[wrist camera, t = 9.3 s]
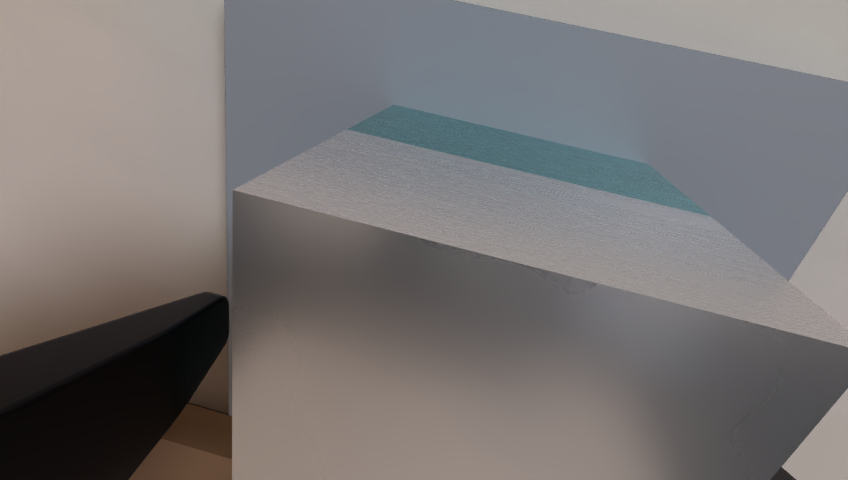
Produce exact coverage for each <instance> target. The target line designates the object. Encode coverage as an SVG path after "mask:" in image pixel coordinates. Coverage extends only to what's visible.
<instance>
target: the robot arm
mask: <svg viewBox="0 0 848 480" xmlns="http://www.w3.org/2000/svg"><path fill="white" fill-rule="evenodd" d="M228 337H229V301H228V299H227V298H226V297H225V296H221V295H218V294H214V293H210V292H203V293H200V294H196V295H193V296H190V297H187V298H184V299H180V300H177V301H174V302H171V303H168V304H164V305H161V306H158V307H155V308H152V309H148V310H145V311H142V312H139V313H136V314H132V315H129V316H126V317H123V318H120V319H116V320H113V321H110V322H107V323H104V324H100V325H97V326H94V327H91V328H87V329H84V330H81V331H78V332H75V333H71V334H68V335H65V336H62V337H59V338H55V339H52V340H49V341H46V342H43V343H39V344H36V345H33V346H30V347H27V348H23V349H20V350H17V351H14V352H11V353H7V354H4V355H1V356H0V480H129V479H130V477H131V476H132V475H133V473H134V472H135V471H136V470H137V468H138V467H139V466H140V465H141V463H142V462H143V461H144V460H145V458H146V457H147V456H148V455H149V453H150V452H151V451H152V450H153V448H154V447H155V446H156V444H157V443H158V442H159V441H160V439H161V438H162V437H163V436H164V434H165V433H166V432H167V431H168V429H169V428H170V427H171V426H172V424H173V423H174V422H175V420H176V419H177V418H178V416H179V415H180V414H181V412H182V411H183V409H184V408H185V406H186V405H187V403H188V402H189V400H190V399H191V397H192V396H193V394H194V392H195V391H196V389H197V388H198V386H199V385H200V383H201V382H202V380H203V378H204V377H205V375H206V374H207V372H208V371H209V369H210V368H211V366H212V364H213V363H214V361H215V360H216V358H217V357H218V355H219V353H220V352H221V350H222V349H223V347H224V346H225V344H226V342H227V340H228ZM771 480H796V479H795V478H794V477H792V476H791V475H790V474H789V473H788V472H787V471H785V470H784V469H783V468H782V467H781V468H780V469H779V470H778V471H777V472H776V474H775V475H774V476H773V477H772V478H771Z"/></svg>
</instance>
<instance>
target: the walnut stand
mask: <svg viewBox="0 0 848 480" xmlns="http://www.w3.org/2000/svg"><path fill="white" fill-rule="evenodd" d="M129 480H232V416H230V415H226V414H223V413H219V412H216V411H212V410H209V409H205V408H202V407H199V406H195V405H192V404H188V403H187V405H186V406H185V408H184V409H183V411H182V412H181V414H180V415H179V416H178V418H177V419H176V420H175V422H174V423H173V424H172V426H171V427H170V428H169V429H168V431H167V432H166V433H165V434H164V436H163V437H162V438H161V439H160V441H159V442H158V443H157V444H156V446H155V447H154V448H153V450H152V451H151V452H150V453H149V455H148V456H147V457H146V458H145V460H144V461H143V462H142V463H141V465H140V466H139V467H138V468H137V470H136V471H135V472H134V473H133V475H132V476H131V477H130V479H129Z"/></svg>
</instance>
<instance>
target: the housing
mask: <svg viewBox="0 0 848 480" xmlns="http://www.w3.org/2000/svg"><path fill="white" fill-rule="evenodd" d="M847 388H848V330H846V329H845V328H844V327H843V326H842V325H840V324H839V323H838V322H837V321H836V320H834V319H833V318H832V317H831V316H830V315H828V314H827V313H826V312H825V311H824V310H822V309H821V308H820V307H819V306H818V305H816V304H815V303H814V302H813V301H812V300H810V299H809V298H808V297H807V296H806V295H804V294H803V293H802V292H801V291H800V290H798V289H797V288H796V287H795V286H794V285H792V284H791V283H790V282H789V281H788V280H786V279H785V278H784V277H783V276H782V275H780V274H779V273H778V272H777V271H776V270H774V269H773V268H772V267H771V266H770V265H769V264H767V263H766V262H765V261H764V260H763V259H761V258H760V257H759V256H758V255H757V254H755V253H754V252H753V251H752V250H751V249H749V248H748V247H747V246H746V245H745V244H743V243H742V242H741V241H740V240H739V239H737V238H736V237H735V236H734V235H733V234H731V233H730V232H729V231H728V230H727V229H725V228H724V227H723V226H722V225H721V224H719V223H718V222H717V221H716V220H715V219H713V218H712V217H711V216H710V215H709V214H707V213H706V212H705V211H704V210H703V209H701V208H700V207H699V206H698V205H697V204H695V203H694V202H693V201H692V200H691V199H689V198H688V197H687V196H686V195H685V194H683V193H682V192H681V191H680V190H679V189H677V188H676V187H675V186H674V185H673V184H671V183H670V182H669V181H668V180H667V179H665V178H664V177H663V176H662V175H661V174H660V173H658V172H657V171H656V170H655V169H654V168H652V167H651V166H650V165H649V164H646V163H642V162H638V161H633V160H629V159H625V158H620V157H616V156H612V155H608V154H603V153H599V152H595V151H591V150H586V149H582V148H578V147H573V146H569V145H565V144H561V143H556V142H552V141H548V140H544V139H539V138H535V137H531V136H526V135H522V134H518V133H514V132H509V131H505V130H501V129H496V128H492V127H488V126H484V125H479V124H475V123H471V122H467V121H462V120H458V119H454V118H449V117H445V116H441V115H437V114H432V113H428V112H424V111H419V110H415V109H411V108H407V107H402V106H398V105H394V104H393V105H392V106H390V107H388V108H386V109H384V110H382V111H380V112H378V113H377V114H375V115H373V116H371V117H369V118H367V119H365V120H363V121H362V122H360V123H358V124H356V125H354V126H352V127H350V128H348V129H346V130H345V131H343V132H341V133H339V134H337V135H335V136H333V137H331V138H330V139H328V140H326V141H324V142H322V143H320V144H318V145H316V146H314V147H313V148H311V149H309V150H307V151H305V152H303V153H301V154H299V155H298V156H296V157H294V158H292V159H290V160H288V161H286V162H284V163H283V164H281V165H279V166H277V167H275V168H273V169H271V170H269V171H267V172H266V173H264V174H262V175H260V176H258V177H256V178H254V179H252V180H251V181H249V182H247V183H245V184H243V185H241V186H239V187H237V188H235V189H234V190H233V260H232V480H771V478H772V477H773V476H774V475H775V474H776V472H777V471H778V470H779V469H780V468H781V467H782V465H783V464H784V463H785V462H786V461H787V459H788V458H789V457H790V456H791V455H792V453H793V452H794V451H795V450H796V449H797V448H798V446H799V445H800V444H801V443H802V442H803V440H804V439H805V438H806V437H807V436H808V434H809V433H810V432H811V431H812V430H813V429H814V427H815V426H816V425H817V424H818V423H819V421H820V420H821V419H822V418H823V417H824V416H825V414H826V413H827V412H828V411H829V410H830V408H831V407H832V406H833V405H834V404H835V402H836V401H837V400H838V399H839V398H840V397H841V395H842V394H843V393H844V392H845V391H846V389H847Z"/></svg>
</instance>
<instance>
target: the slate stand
mask: <svg viewBox="0 0 848 480" xmlns="http://www.w3.org/2000/svg"><path fill="white" fill-rule="evenodd" d="M224 9H225V104H226V199H227V294H228V301H229V337H228V388H229V415H230V416H232V260H233V190H234V189H235V188H237V187H239V186H241V185H243V184H245V183H247V182H249V181H251V180H252V179H254V178H256V177H258V176H260V175H262V174H264V173H266V172H267V171H269V170H271V169H273V168H275V167H277V166H279V165H281V164H283V163H284V162H286V161H288V160H290V159H292V158H294V157H296V156H298V155H299V154H301V153H303V152H305V151H307V150H309V149H311V148H313V147H314V146H316V145H318V144H320V143H322V142H324V141H326V140H328V139H330V138H331V137H333V136H335V135H337V134H339V133H341V132H343V131H345V130H346V129H348V128H350V127H352V126H354V125H356V124H358V123H360V122H362V121H363V120H365V119H367V118H369V117H371V116H373V115H375V114H377V113H378V112H380V111H382V110H384V109H386V108H388V107H390V106H392V105H393V104H394V105H398V106H402V107H407V108H411V109H415V110H419V111H424V112H428V113H432V114H437V115H441V116H445V117H449V118H454V119H458V120H462V121H467V122H471V123H475V124H479V125H484V126H488V127H492V128H496V129H501V130H505V131H509V132H514V133H518V134H522V135H526V136H531V137H535V138H539V139H544V140H548V141H552V142H556V143H561V144H565V145H569V146H573V147H578V148H582V149H586V150H591V151H595V152H599V153H603V154H608V155H612V156H616V157H620V158H625V159H629V160H633V161H638V162H642V163H646V164H649V165H650V166H651V167H652V168H654V169H655V170H656V171H657V172H658V173H660V174H661V175H662V176H663V177H664V178H665V179H667V180H668V181H669V182H670V183H671V184H673V185H674V186H675V187H676V188H677V189H679V190H680V191H681V192H682V193H683V194H685V195H686V196H687V197H688V198H689V199H691V200H692V201H693V202H694V203H695V204H697V205H698V206H699V207H700V208H701V209H703V210H704V211H705V212H706V213H707V214H709V215H710V216H711V217H712V218H713V219H715V220H716V221H717V222H718V223H719V224H721V225H722V226H723V227H724V228H725V229H727V230H728V231H729V232H730V233H731V234H733V235H734V236H735V237H736V238H737V239H739V240H740V241H741V242H742V243H743V244H745V245H746V246H747V247H748V248H749V249H751V250H752V251H753V252H754V253H755V254H757V255H758V256H759V257H760V258H761V259H763V260H764V261H765V262H766V263H767V264H769V265H770V266H771V267H772V268H773V269H774V270H776V271H777V272H778V273H779V274H780V275H782V276H783V277H784V278H785V279H786V280H788V281H789V280H790V278H791V277H792V275H793V274H794V272H795V271H796V269H797V267H798V266H799V264H800V263H801V261H802V260H803V258H804V257H805V255H806V254H807V252H808V251H809V249H810V248H811V246H812V245H813V243H814V242H815V240H816V239H817V237H818V235H819V234H820V232H821V231H822V229H823V228H824V226H825V225H826V223H827V222H828V220H829V219H830V217H831V216H832V214H833V213H834V211H835V210H836V208H837V207H838V205H839V204H840V202H841V200H842V199H843V197H844V196H845V194H846V193H847V191H848V82H846V81H841V80H836V79H831V78H826V77H821V76H817V75H812V74H807V73H802V72H797V71H792V70H788V69H783V68H778V67H773V66H768V65H763V64H759V63H754V62H749V61H744V60H739V59H735V58H730V57H725V56H720V55H715V54H710V53H706V52H701V51H696V50H691V49H686V48H681V47H677V46H672V45H667V44H662V43H657V42H652V41H648V40H643V39H638V38H633V37H628V36H623V35H619V34H614V33H609V32H604V31H599V30H594V29H590V28H585V27H580V26H575V25H570V24H565V23H561V22H556V21H551V20H546V19H541V18H537V17H532V16H527V15H522V14H517V13H512V12H508V11H503V10H498V9H493V8H488V7H483V6H479V5H474V4H469V3H464V2H459V1H454V0H224Z"/></svg>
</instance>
